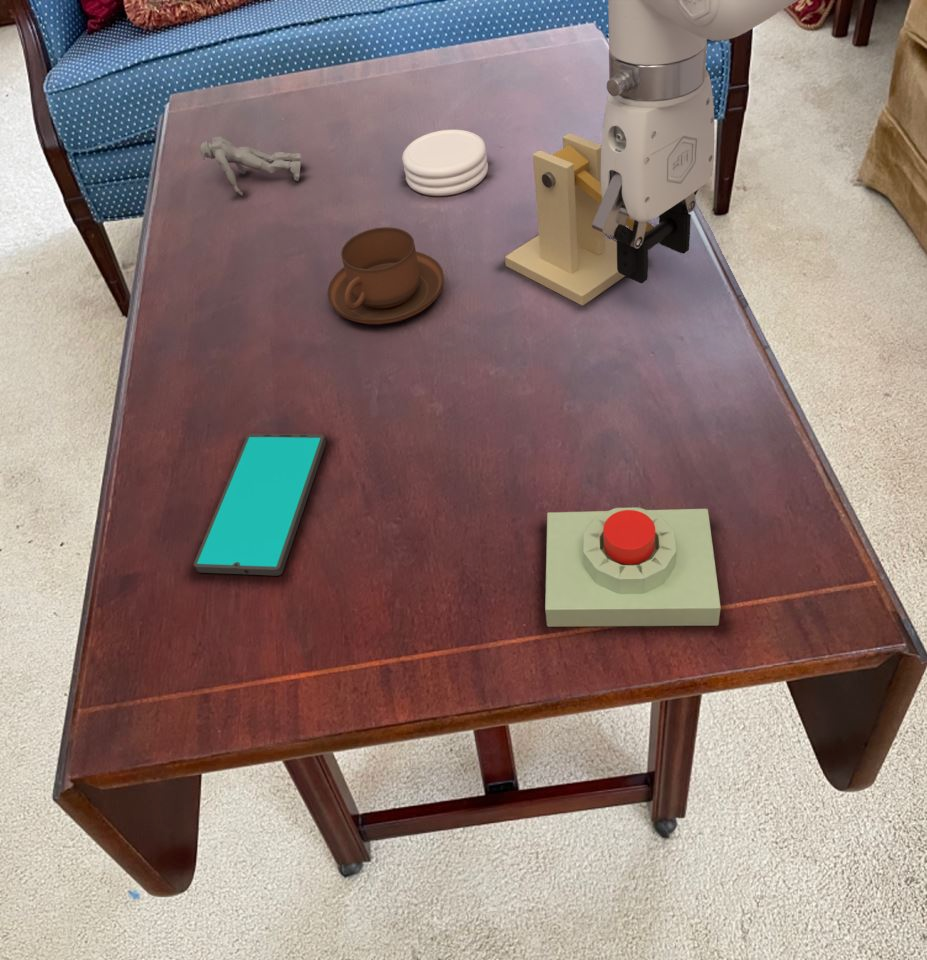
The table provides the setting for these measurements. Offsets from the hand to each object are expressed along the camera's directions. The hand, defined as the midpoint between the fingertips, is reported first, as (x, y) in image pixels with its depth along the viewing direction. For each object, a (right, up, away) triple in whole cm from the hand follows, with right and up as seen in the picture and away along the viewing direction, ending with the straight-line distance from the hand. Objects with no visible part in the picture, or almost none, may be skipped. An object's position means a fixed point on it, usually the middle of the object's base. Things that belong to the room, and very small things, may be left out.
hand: (653, 260), depth 88 cm
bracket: (-6, +2, +10) cm, 12 cm away
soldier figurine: (-43, +17, +30) cm, 55 cm away
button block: (-5, -28, -18) cm, 33 cm away
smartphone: (-35, -23, -8) cm, 42 cm away
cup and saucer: (-25, -2, +10) cm, 27 cm away
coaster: (-20, +16, +25) cm, 36 cm away
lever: (-4, +5, +1) cm, 7 cm away
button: (-6, -25, -21) cm, 33 cm away
